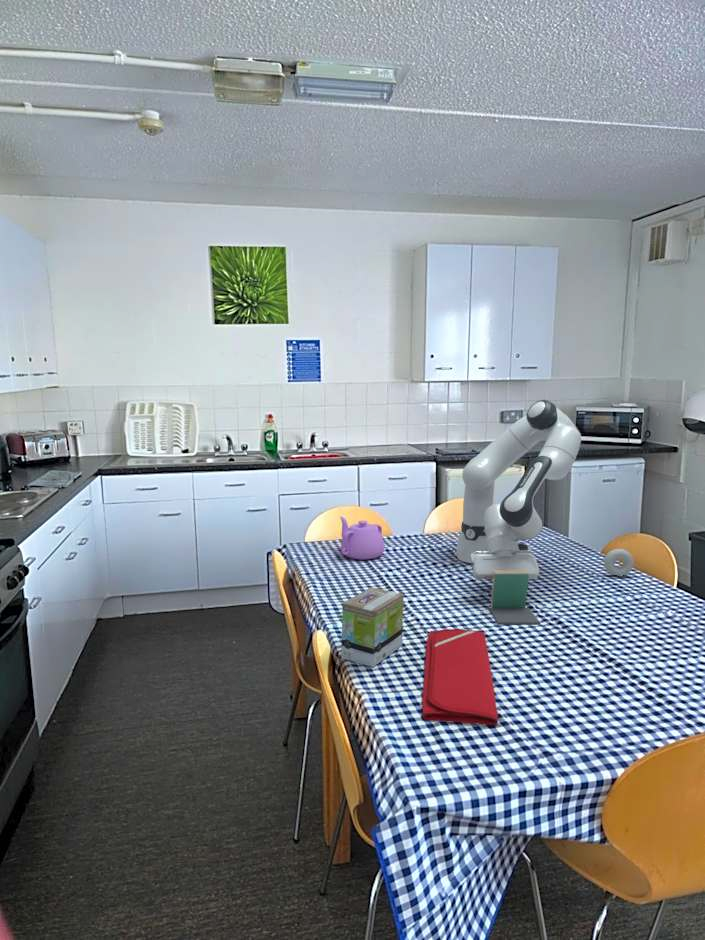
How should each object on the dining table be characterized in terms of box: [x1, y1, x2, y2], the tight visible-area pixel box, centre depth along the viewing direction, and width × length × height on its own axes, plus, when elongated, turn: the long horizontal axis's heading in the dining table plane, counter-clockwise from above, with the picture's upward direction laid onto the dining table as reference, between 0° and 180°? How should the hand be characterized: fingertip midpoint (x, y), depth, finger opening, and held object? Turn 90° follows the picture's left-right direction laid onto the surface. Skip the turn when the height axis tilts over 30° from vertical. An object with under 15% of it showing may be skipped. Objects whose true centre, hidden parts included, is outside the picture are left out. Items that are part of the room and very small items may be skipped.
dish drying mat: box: [421, 628, 499, 726], centre depth 149 cm, size 16×41×4 cm, turn 172°
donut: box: [603, 548, 635, 577], centre depth 220 cm, size 10×4×10 cm, turn 84°
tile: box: [490, 570, 529, 608], centre depth 190 cm, size 2×10×12 cm, turn 90°
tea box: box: [340, 587, 404, 668], centre depth 160 cm, size 15×10×15 cm, turn 148°
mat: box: [489, 607, 541, 625], centre depth 184 cm, size 11×12×1 cm
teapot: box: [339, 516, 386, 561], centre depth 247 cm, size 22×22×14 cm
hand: (508, 591), depth 192 cm, fingers closed
